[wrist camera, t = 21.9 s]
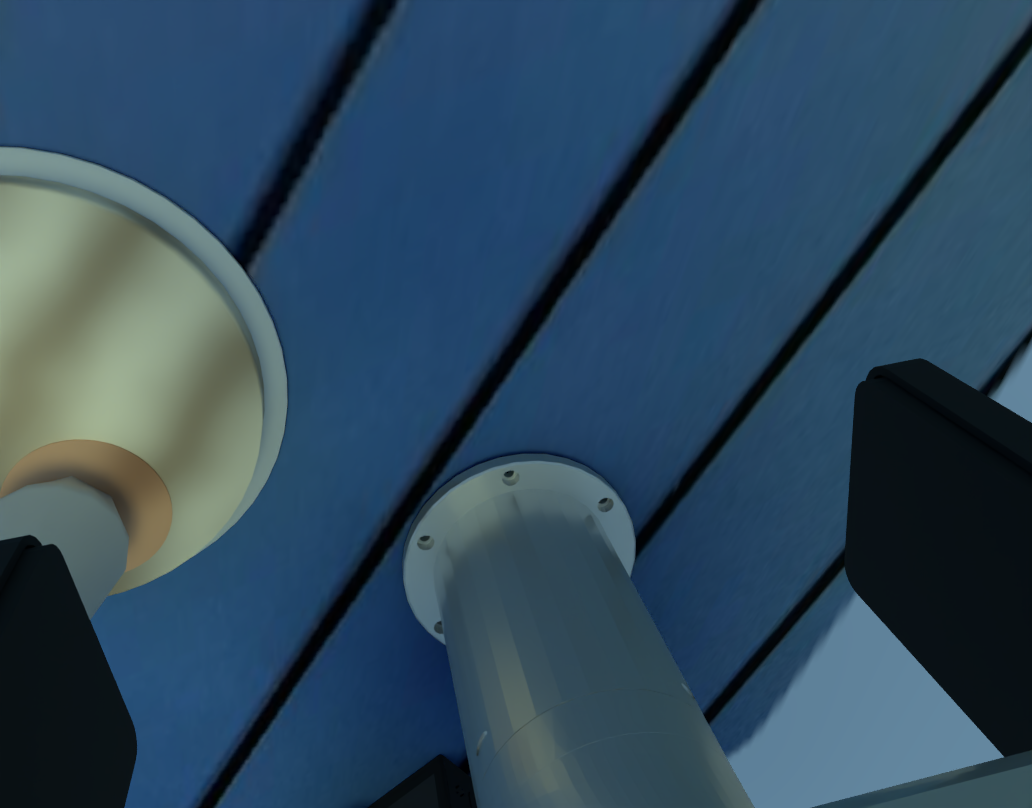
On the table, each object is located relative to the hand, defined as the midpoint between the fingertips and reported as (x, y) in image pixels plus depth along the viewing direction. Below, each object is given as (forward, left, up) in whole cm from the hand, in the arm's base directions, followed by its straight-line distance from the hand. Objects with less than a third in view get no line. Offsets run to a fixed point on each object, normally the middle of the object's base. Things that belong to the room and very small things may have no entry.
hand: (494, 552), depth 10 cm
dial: (-8, +16, -30) cm, 35 cm away
